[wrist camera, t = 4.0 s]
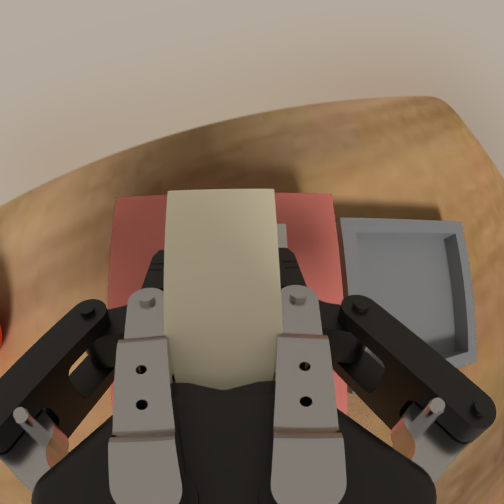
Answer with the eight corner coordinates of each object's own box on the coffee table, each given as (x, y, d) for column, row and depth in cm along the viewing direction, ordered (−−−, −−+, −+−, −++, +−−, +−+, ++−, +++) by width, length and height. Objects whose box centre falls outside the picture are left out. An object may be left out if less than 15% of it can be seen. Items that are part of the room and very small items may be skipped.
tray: (444, 230, 22) (461, 221, 20) (457, 360, 19) (476, 361, 17) (328, 229, 21) (339, 217, 19) (339, 387, 18) (352, 394, 16)
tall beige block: (247, 270, 20) (274, 189, 8) (251, 354, 19) (285, 392, 7) (202, 271, 20) (167, 190, 8) (204, 355, 18) (166, 395, 7)
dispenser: (309, 223, 21) (334, 189, 16) (319, 396, 18) (351, 417, 13) (139, 226, 20) (112, 192, 15) (139, 400, 17) (109, 423, 12)
